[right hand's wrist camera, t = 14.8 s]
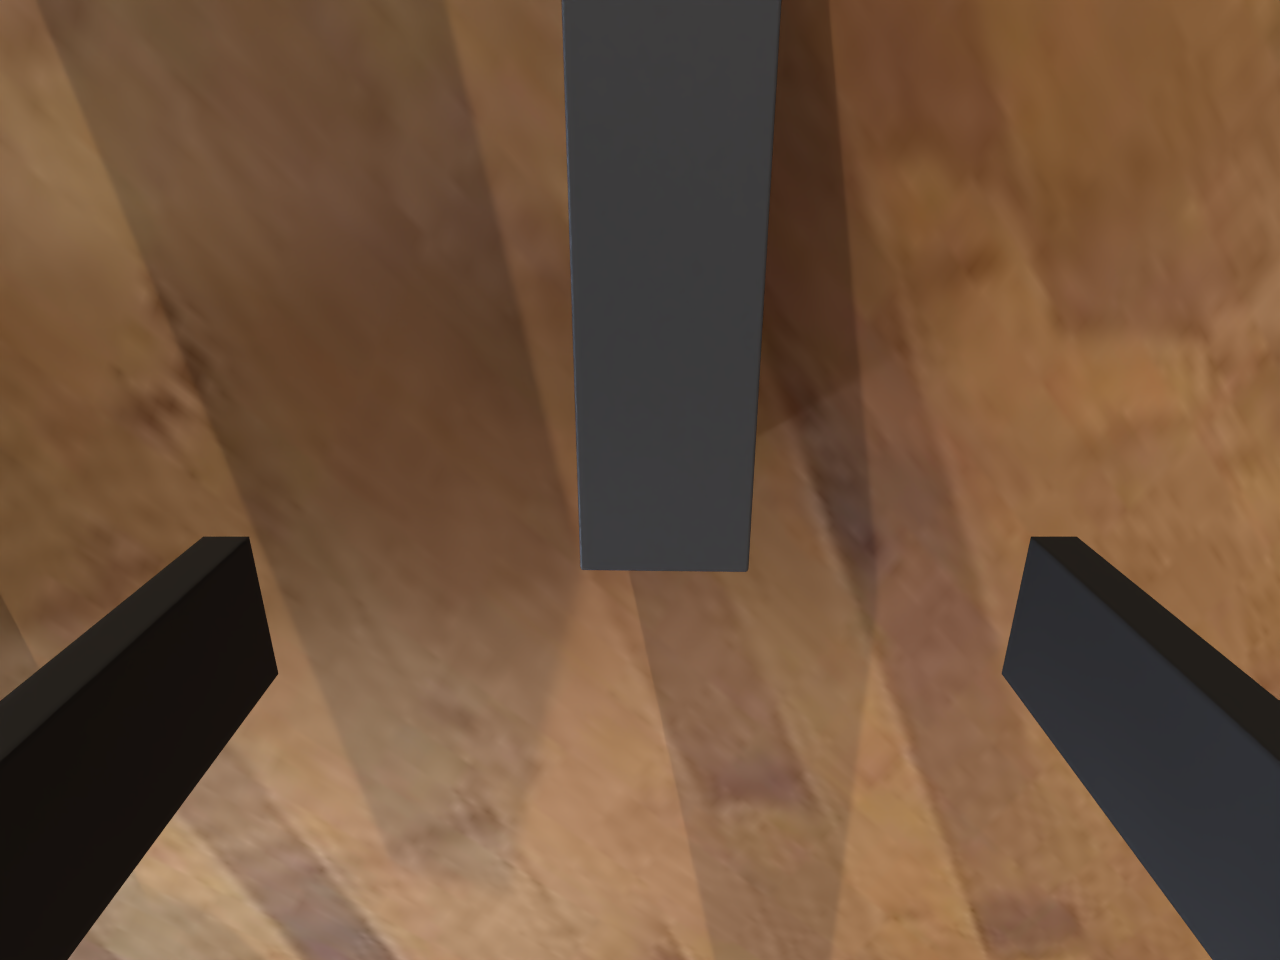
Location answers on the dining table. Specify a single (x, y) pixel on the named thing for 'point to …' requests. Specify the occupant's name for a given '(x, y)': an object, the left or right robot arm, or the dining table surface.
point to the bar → (668, 272)
